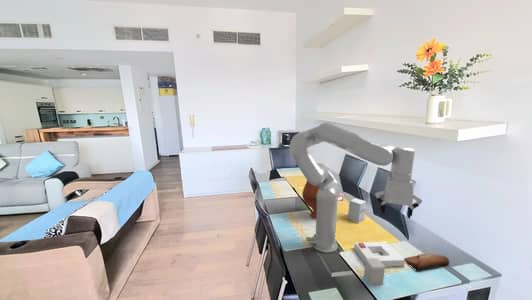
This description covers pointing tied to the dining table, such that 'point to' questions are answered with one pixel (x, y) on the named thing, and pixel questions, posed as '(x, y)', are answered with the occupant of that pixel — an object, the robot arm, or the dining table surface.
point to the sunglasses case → (426, 261)
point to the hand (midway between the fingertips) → (395, 214)
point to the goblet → (311, 197)
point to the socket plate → (389, 253)
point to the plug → (374, 271)
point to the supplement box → (356, 210)
